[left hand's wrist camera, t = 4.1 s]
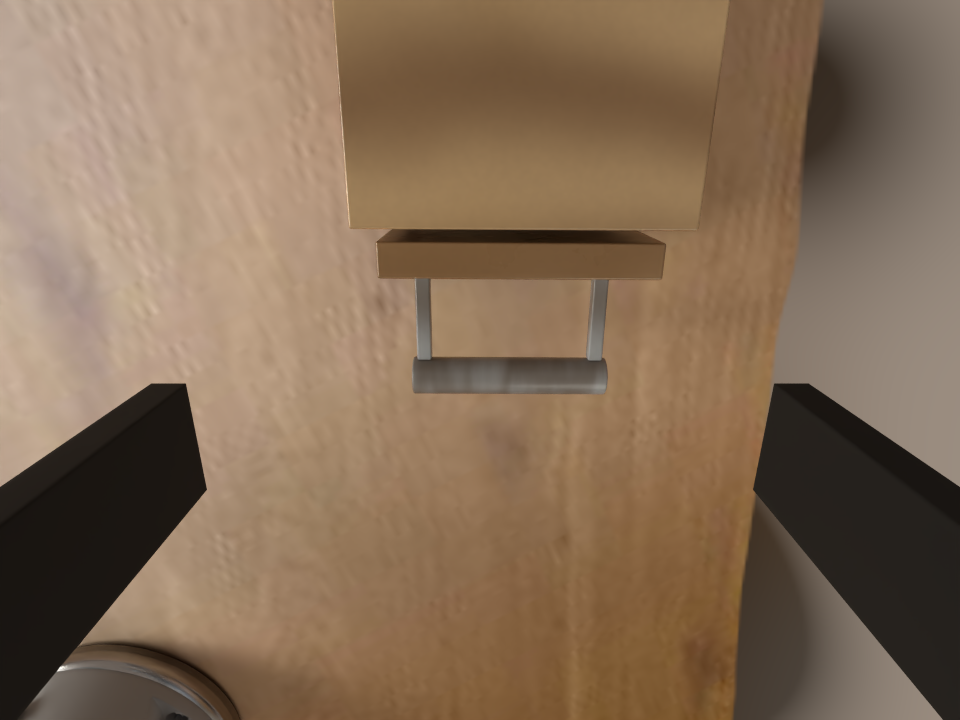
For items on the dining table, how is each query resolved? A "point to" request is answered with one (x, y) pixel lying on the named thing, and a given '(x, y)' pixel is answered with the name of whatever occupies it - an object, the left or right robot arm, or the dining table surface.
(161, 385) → the left robot arm
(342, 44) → the cabinet
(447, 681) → the dining table surface
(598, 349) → the drawer
